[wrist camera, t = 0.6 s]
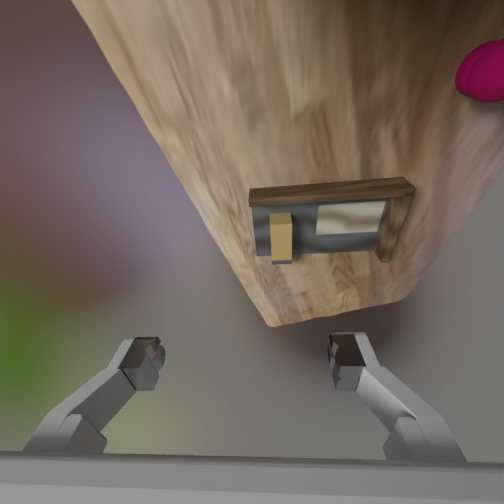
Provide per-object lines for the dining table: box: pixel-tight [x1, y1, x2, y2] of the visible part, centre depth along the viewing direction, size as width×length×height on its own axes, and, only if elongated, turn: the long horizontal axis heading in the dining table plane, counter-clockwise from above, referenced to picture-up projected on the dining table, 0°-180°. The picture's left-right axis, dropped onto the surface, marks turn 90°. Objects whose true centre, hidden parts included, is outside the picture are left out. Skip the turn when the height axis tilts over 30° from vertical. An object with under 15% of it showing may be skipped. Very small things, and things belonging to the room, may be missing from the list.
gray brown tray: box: [249, 177, 416, 263], centre depth 50 cm, size 18×30×5 cm, turn 96°
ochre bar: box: [270, 213, 292, 264], centre depth 53 cm, size 11×4×4 cm, turn 6°
